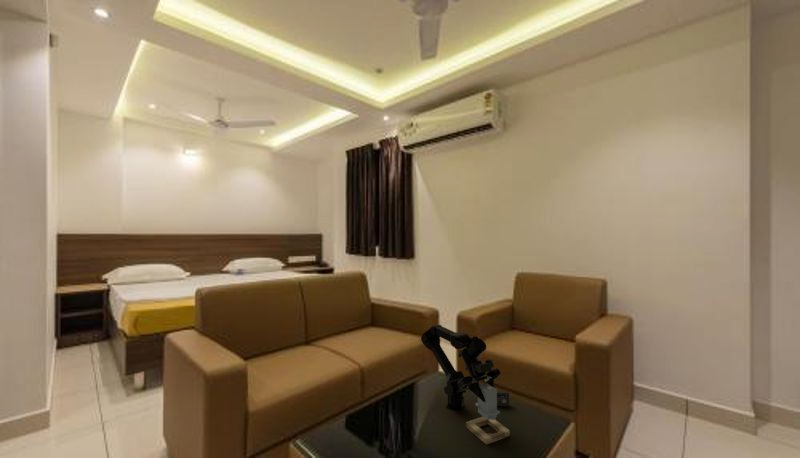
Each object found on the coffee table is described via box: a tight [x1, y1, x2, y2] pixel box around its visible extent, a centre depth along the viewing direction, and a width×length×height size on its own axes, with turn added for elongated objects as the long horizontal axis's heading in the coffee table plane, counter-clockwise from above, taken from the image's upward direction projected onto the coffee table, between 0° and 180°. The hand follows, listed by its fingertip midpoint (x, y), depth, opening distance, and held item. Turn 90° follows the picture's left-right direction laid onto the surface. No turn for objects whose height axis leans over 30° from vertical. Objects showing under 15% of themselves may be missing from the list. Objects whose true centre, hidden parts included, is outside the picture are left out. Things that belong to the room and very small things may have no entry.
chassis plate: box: [465, 416, 511, 445], centre depth 140 cm, size 13×12×2 cm
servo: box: [475, 382, 501, 420], centre depth 140 cm, size 9×5×12 cm, turn 26°
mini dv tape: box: [497, 391, 510, 407], centre depth 159 cm, size 8×2×6 cm, turn 84°
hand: (489, 399), depth 138 cm, fingers closed on servo, 5 cm apart
